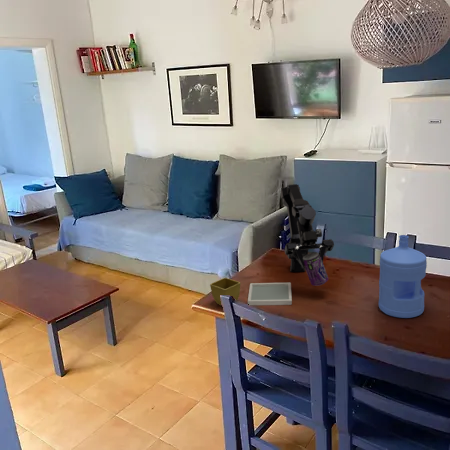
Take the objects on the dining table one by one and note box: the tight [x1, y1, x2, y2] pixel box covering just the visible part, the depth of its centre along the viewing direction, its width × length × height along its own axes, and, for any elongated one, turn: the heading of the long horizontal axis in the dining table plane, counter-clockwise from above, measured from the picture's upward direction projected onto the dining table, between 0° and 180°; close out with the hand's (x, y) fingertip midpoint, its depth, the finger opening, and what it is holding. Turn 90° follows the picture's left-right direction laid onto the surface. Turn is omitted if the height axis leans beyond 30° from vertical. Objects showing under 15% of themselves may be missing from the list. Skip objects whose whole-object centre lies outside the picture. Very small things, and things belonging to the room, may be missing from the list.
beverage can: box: [303, 251, 329, 287], centre depth 183 cm, size 7×7×12 cm
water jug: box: [378, 234, 428, 319], centre depth 168 cm, size 16×16×28 cm
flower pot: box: [209, 277, 241, 306], centre depth 184 cm, size 9×9×9 cm
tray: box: [247, 282, 293, 306], centre depth 190 cm, size 17×17×2 cm
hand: (312, 267), depth 181 cm, fingers closed on beverage can, 7 cm apart
